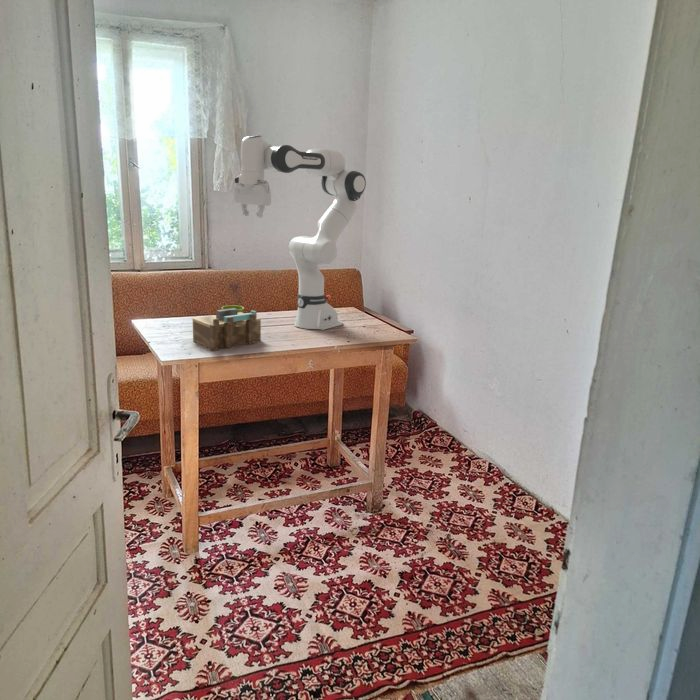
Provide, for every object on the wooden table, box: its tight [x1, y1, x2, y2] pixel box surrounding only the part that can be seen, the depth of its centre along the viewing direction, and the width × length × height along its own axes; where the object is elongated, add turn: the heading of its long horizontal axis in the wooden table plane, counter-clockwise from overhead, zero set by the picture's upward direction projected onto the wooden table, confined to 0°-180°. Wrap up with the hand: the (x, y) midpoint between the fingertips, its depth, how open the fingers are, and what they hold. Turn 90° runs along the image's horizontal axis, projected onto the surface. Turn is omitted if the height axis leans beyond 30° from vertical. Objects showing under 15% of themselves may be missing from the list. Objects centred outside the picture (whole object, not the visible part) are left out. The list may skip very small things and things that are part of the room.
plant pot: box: [221, 304, 245, 313], centre depth 257 cm, size 9×9×9 cm
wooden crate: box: [192, 314, 262, 352], centre depth 233 cm, size 23×18×12 cm
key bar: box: [224, 310, 258, 323], centre depth 228 cm, size 13×2×3 cm, turn 133°
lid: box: [192, 308, 262, 328], centre depth 233 cm, size 22×17×5 cm
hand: (252, 216), depth 234 cm, fingers open, 8 cm apart
